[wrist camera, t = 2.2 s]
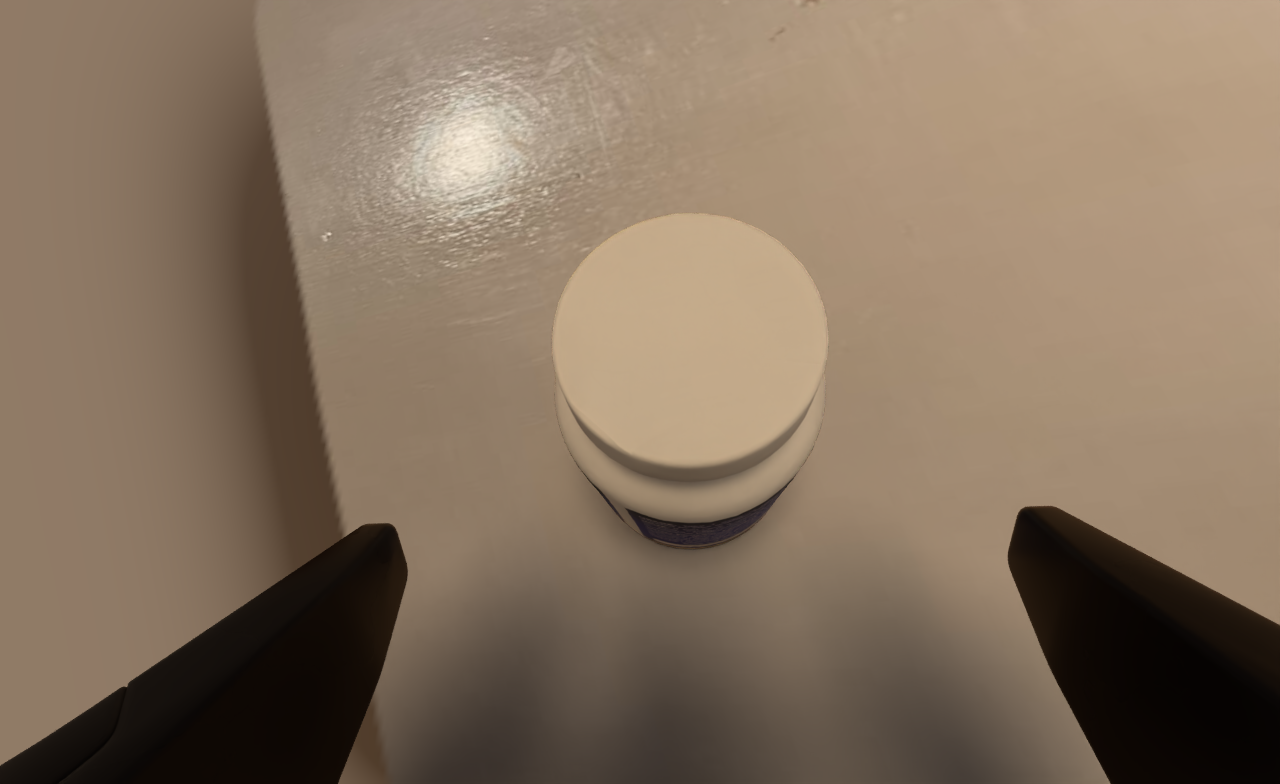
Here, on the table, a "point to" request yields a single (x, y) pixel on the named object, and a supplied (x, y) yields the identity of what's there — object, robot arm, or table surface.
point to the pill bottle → (690, 374)
